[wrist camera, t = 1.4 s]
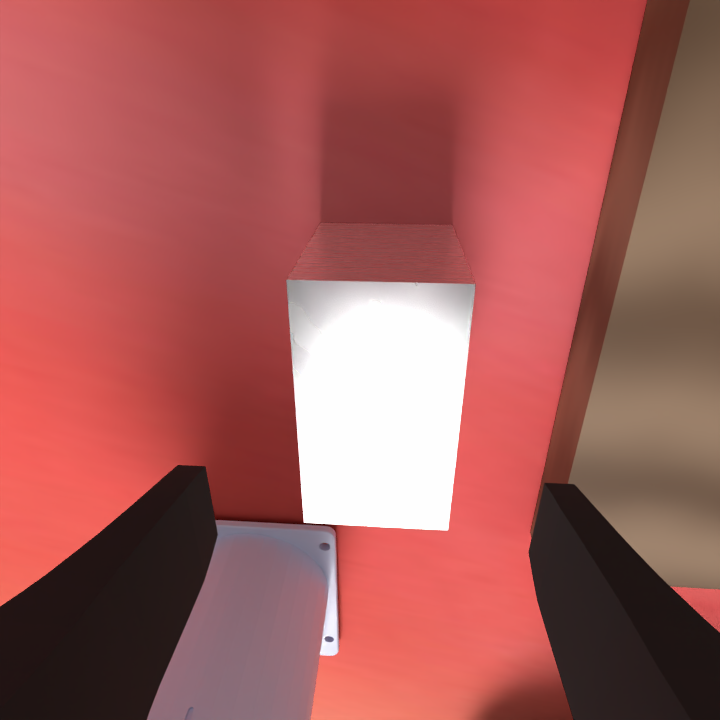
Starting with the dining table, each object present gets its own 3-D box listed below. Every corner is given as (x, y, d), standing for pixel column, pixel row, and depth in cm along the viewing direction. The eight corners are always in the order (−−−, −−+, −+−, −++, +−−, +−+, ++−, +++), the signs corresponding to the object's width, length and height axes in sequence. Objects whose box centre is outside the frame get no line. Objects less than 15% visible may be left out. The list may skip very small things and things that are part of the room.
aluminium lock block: (435, 419, 21) (447, 530, 16) (327, 415, 21) (303, 522, 16) (452, 224, 17) (475, 283, 12) (320, 222, 17) (286, 279, 12)
